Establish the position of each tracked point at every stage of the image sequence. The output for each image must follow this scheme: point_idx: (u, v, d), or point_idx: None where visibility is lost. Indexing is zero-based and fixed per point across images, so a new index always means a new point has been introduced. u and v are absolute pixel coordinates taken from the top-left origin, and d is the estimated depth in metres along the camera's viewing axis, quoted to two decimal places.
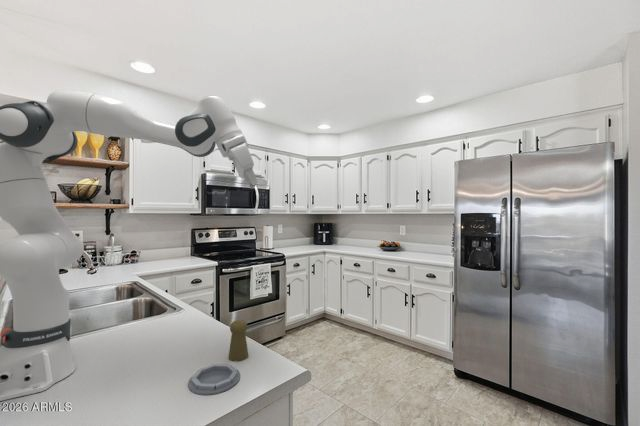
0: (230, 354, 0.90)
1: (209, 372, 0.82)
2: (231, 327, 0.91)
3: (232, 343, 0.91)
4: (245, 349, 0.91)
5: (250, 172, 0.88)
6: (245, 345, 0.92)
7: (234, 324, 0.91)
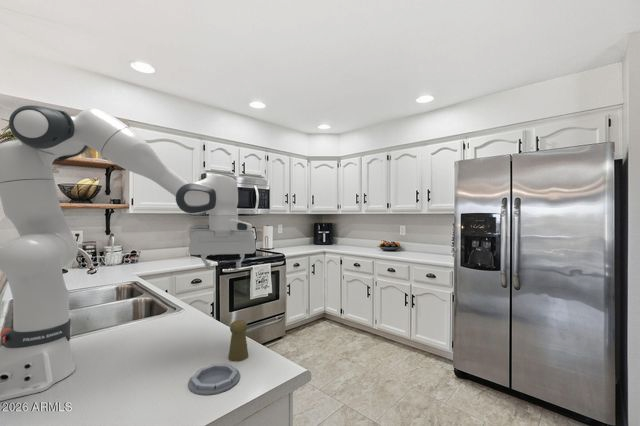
0: (230, 354, 0.90)
1: (209, 372, 0.82)
2: (231, 327, 0.91)
3: (232, 343, 0.91)
4: (245, 349, 0.91)
5: (244, 256, 0.96)
6: (245, 345, 0.92)
7: (234, 324, 0.91)
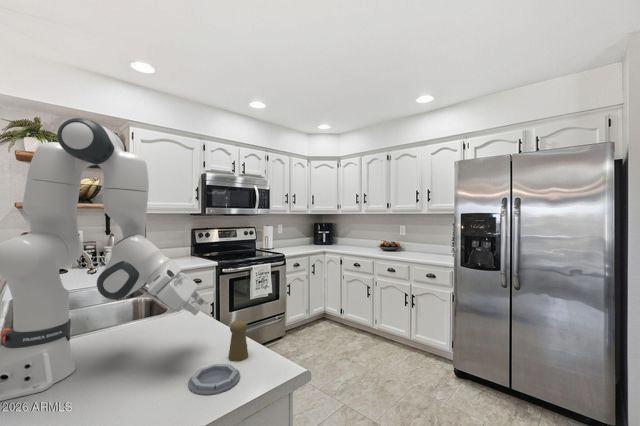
0: (230, 354, 0.90)
1: (209, 372, 0.82)
2: (231, 327, 0.91)
3: (232, 343, 0.91)
4: (245, 349, 0.91)
5: (187, 306, 0.83)
6: (245, 345, 0.92)
7: (234, 324, 0.91)
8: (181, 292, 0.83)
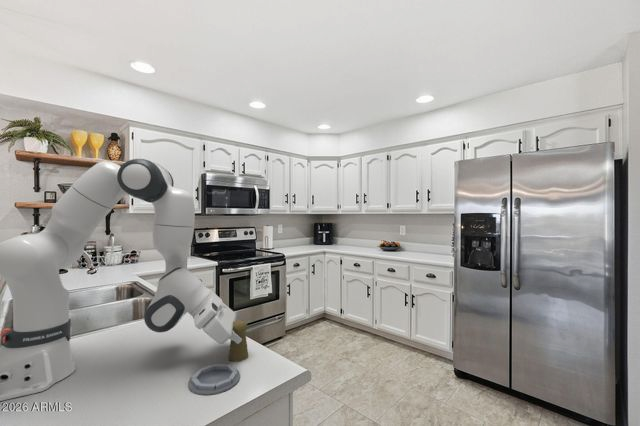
0: (230, 354, 0.90)
1: (209, 372, 0.82)
2: None
3: (232, 343, 0.91)
4: (245, 349, 0.91)
5: (231, 335, 0.88)
6: (245, 345, 0.92)
7: (234, 324, 0.91)
8: (225, 324, 0.86)
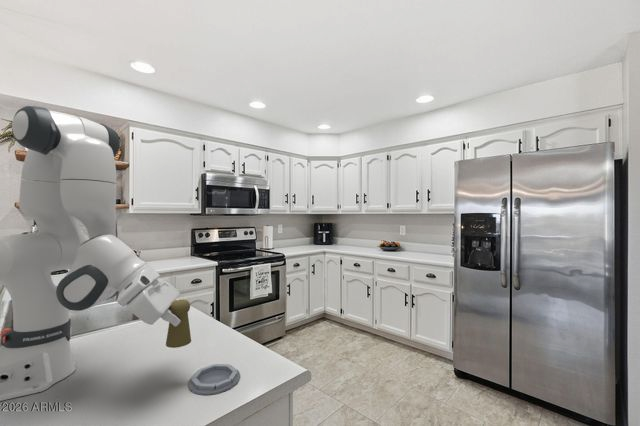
0: (167, 339, 0.76)
1: (209, 372, 0.82)
2: (169, 307, 0.76)
3: (170, 326, 0.76)
4: (185, 333, 0.76)
5: (166, 316, 0.73)
6: (186, 329, 0.77)
7: (173, 303, 0.76)
8: (157, 302, 0.71)
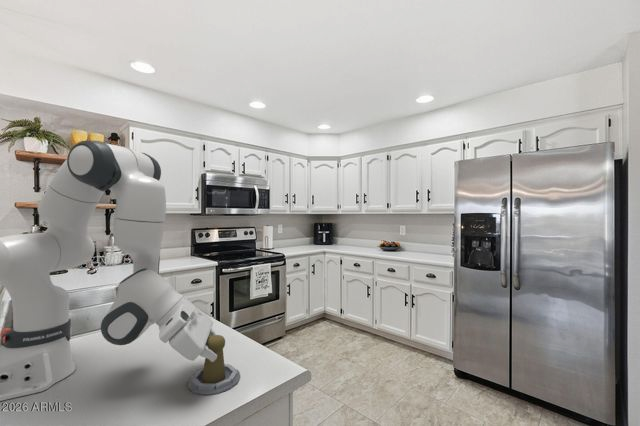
0: (203, 375, 0.77)
1: None
2: (206, 343, 0.77)
3: (206, 362, 0.77)
4: (221, 370, 0.78)
5: (204, 352, 0.73)
6: (222, 365, 0.78)
7: (209, 340, 0.77)
8: (197, 336, 0.72)
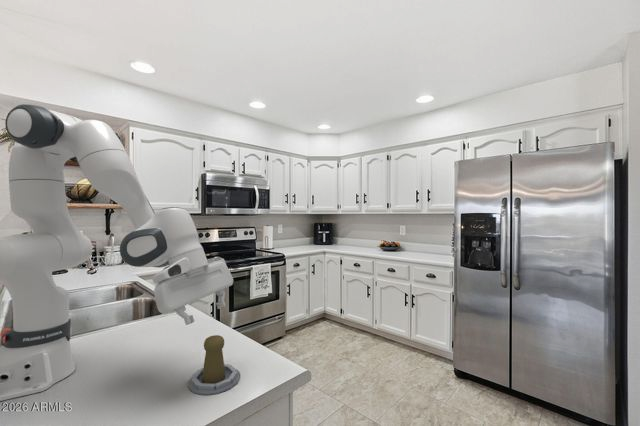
0: (203, 376, 0.77)
1: None
2: (205, 344, 0.77)
3: (206, 363, 0.77)
4: (221, 370, 0.78)
5: (179, 312, 0.72)
6: (221, 365, 0.78)
7: (208, 340, 0.77)
8: (177, 295, 0.71)
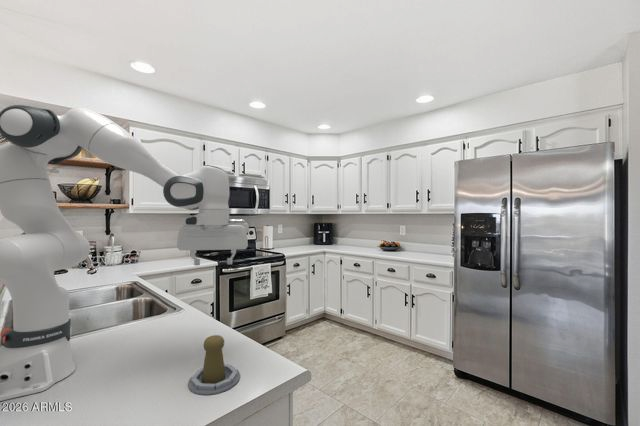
0: (203, 376, 0.77)
1: None
2: (205, 344, 0.77)
3: (206, 363, 0.77)
4: (221, 370, 0.78)
5: None
6: (221, 365, 0.78)
7: (208, 340, 0.77)
8: (190, 240, 0.87)
